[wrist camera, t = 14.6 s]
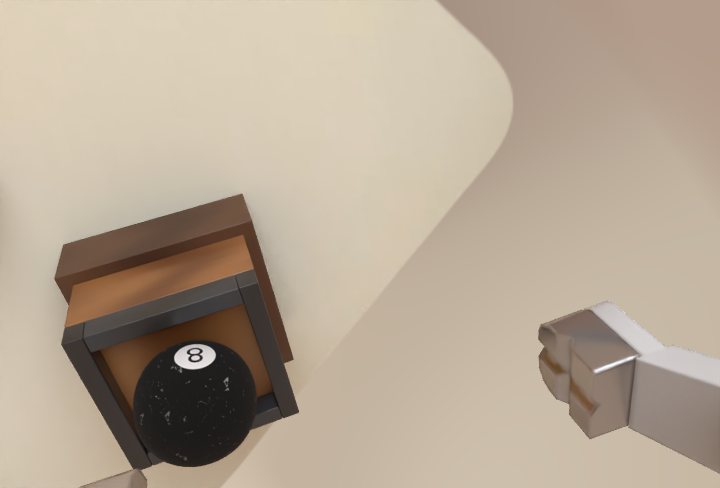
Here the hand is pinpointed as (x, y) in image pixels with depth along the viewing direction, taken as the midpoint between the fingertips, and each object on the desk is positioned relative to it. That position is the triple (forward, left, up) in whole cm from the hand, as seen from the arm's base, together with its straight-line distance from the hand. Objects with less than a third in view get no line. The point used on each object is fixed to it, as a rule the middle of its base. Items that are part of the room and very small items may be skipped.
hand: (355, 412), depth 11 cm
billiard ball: (+6, +12, -18) cm, 23 cm away
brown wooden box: (+6, +12, -26) cm, 29 cm away
